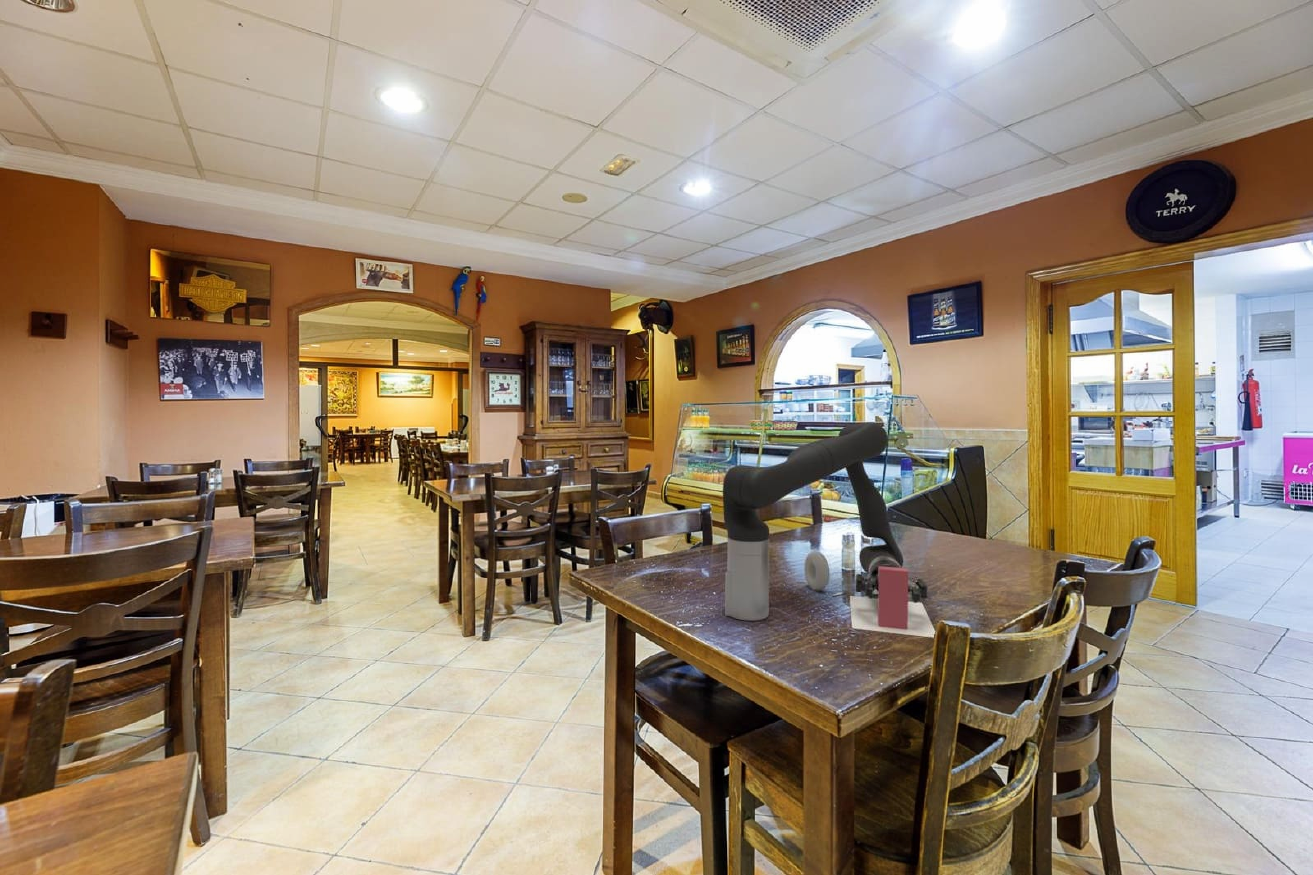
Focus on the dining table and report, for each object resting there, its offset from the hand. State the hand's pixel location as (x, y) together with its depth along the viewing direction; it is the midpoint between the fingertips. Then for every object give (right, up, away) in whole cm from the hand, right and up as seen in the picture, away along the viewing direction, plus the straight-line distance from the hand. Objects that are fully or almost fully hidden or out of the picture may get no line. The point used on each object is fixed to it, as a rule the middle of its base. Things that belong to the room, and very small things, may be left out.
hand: (893, 595), depth 112 cm
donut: (-8, -7, +27) cm, 29 cm away
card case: (0, -7, +1) cm, 7 cm away
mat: (+3, -7, +8) cm, 11 cm away
